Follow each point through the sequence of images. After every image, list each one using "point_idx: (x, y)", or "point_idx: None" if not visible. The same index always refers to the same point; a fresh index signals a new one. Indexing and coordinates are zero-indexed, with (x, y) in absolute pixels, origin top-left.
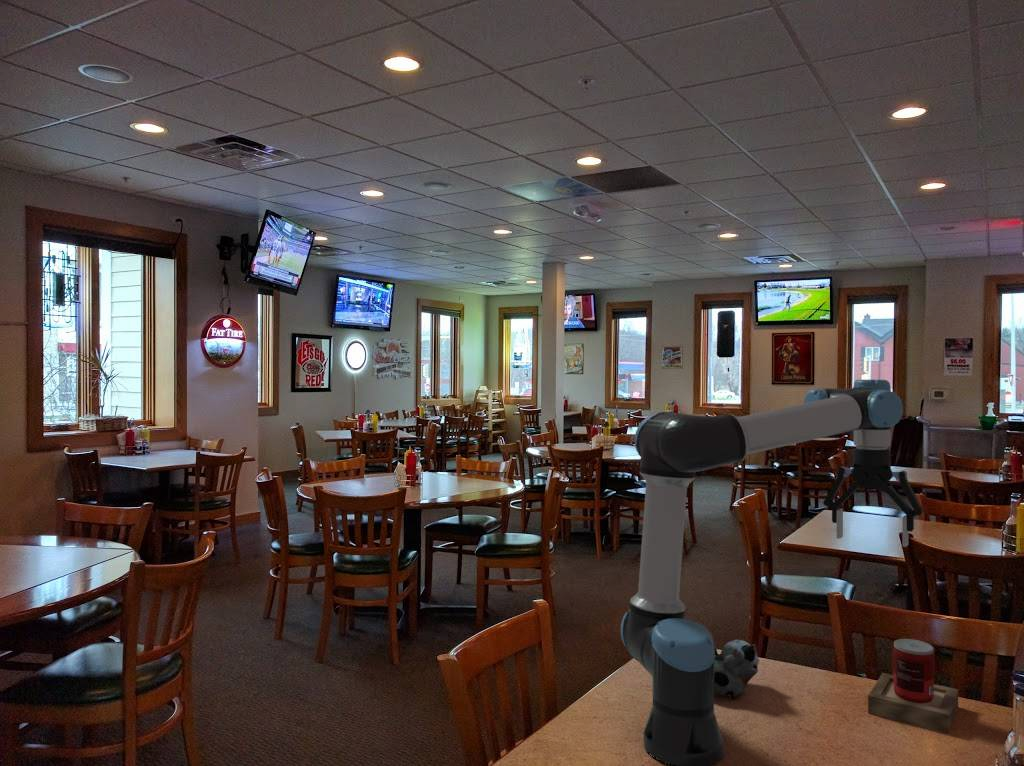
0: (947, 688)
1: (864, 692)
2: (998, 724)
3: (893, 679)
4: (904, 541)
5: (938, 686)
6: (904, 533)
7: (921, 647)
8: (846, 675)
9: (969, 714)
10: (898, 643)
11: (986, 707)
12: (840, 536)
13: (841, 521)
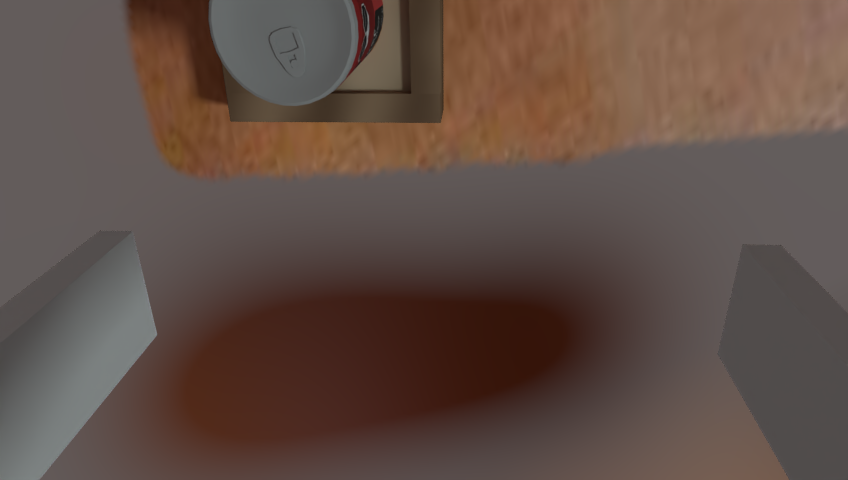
0: (255, 109)
1: (484, 50)
2: (141, 51)
3: (402, 92)
4: (84, 254)
5: (279, 110)
6: (29, 299)
7: (257, 39)
8: (555, 153)
9: (213, 73)
10: (338, 25)
11: (194, 150)
12: (746, 273)
13: (814, 425)
